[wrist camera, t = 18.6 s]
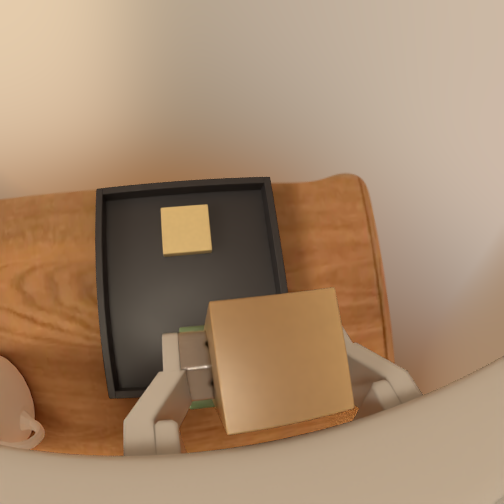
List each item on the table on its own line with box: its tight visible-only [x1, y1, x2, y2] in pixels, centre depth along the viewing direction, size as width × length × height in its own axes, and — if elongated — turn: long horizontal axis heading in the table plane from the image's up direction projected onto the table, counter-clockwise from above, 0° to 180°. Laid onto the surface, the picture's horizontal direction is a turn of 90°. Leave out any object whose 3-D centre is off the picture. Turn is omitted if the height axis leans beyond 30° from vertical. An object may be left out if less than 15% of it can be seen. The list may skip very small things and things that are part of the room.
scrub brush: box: [179, 287, 355, 435], centre depth 11 cm, size 5×4×9 cm
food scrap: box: [161, 204, 212, 257], centre depth 27 cm, size 4×4×1 cm
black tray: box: [95, 177, 288, 399], centre depth 26 cm, size 15×17×2 cm
